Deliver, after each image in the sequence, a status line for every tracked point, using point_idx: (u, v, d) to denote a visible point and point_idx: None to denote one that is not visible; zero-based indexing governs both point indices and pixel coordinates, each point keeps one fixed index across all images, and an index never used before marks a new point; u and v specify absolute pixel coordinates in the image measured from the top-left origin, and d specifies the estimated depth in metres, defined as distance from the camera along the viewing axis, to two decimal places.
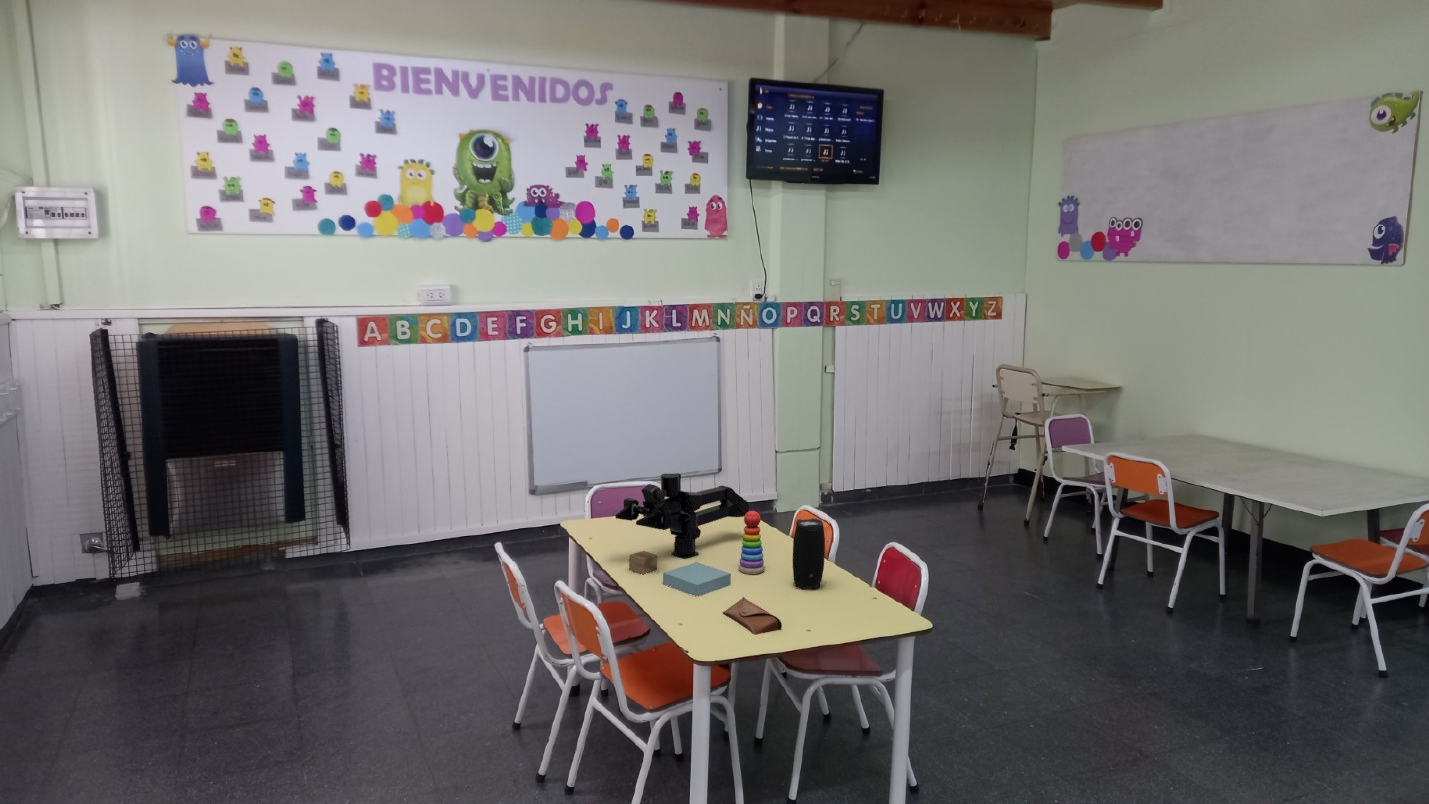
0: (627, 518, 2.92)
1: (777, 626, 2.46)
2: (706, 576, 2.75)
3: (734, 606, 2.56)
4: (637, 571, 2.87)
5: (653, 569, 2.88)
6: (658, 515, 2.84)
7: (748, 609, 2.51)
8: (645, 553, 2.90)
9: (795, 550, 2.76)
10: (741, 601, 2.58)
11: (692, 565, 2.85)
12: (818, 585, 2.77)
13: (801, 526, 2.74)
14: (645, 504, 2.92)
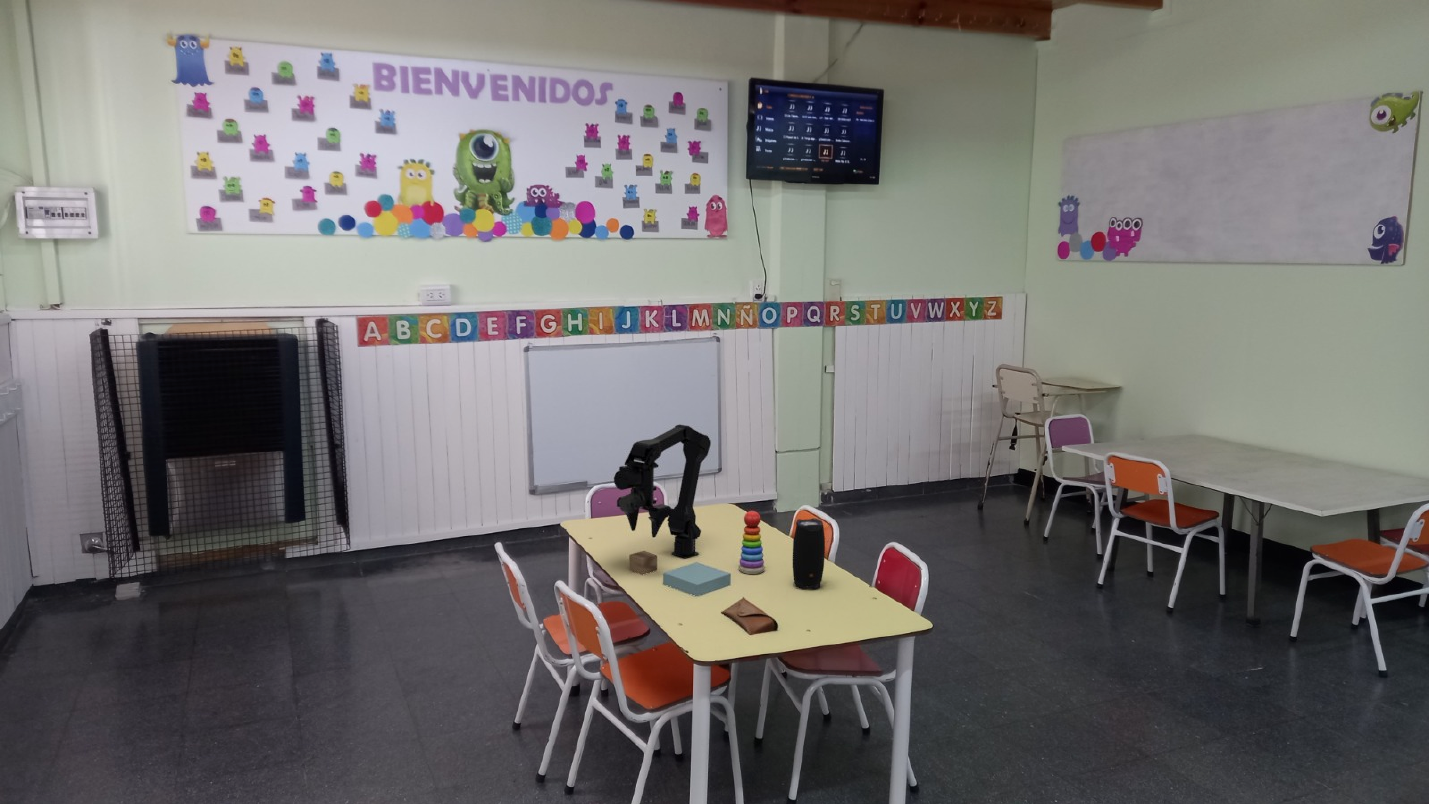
0: (636, 513, 2.91)
1: (774, 628, 2.45)
2: (706, 576, 2.75)
3: (733, 606, 2.56)
4: (637, 571, 2.87)
5: (653, 569, 2.88)
6: None
7: (746, 610, 2.51)
8: (645, 553, 2.90)
9: (795, 550, 2.76)
10: (741, 601, 2.58)
11: (692, 565, 2.85)
12: (818, 585, 2.77)
13: (801, 526, 2.74)
14: None
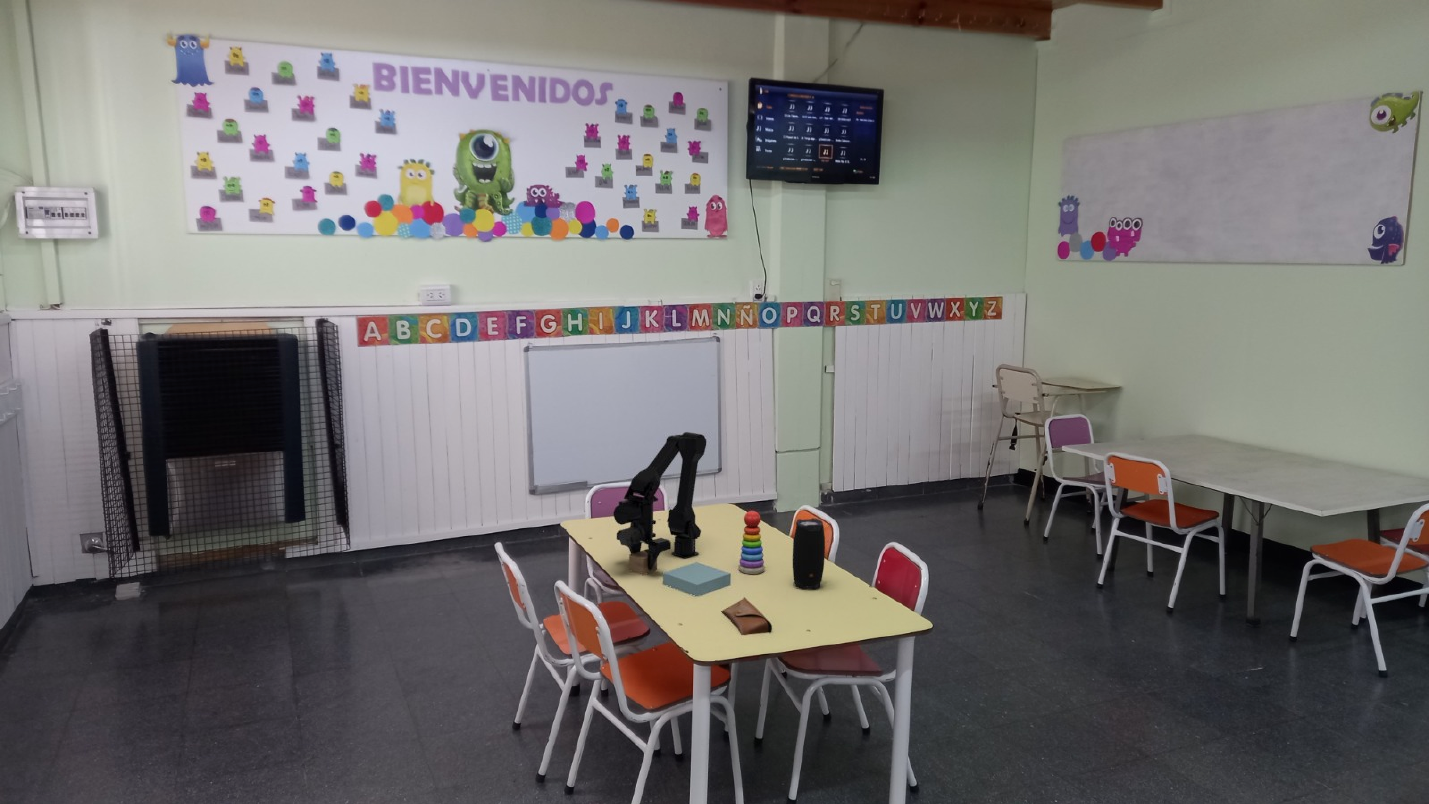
0: (639, 547, 2.92)
1: (767, 629, 2.44)
2: (706, 576, 2.75)
3: (733, 606, 2.57)
4: (637, 570, 2.87)
5: (653, 569, 2.88)
6: None
7: (743, 610, 2.51)
8: (645, 552, 2.90)
9: (795, 550, 2.76)
10: (741, 601, 2.58)
11: (692, 565, 2.85)
12: (818, 585, 2.77)
13: (801, 526, 2.74)
14: None
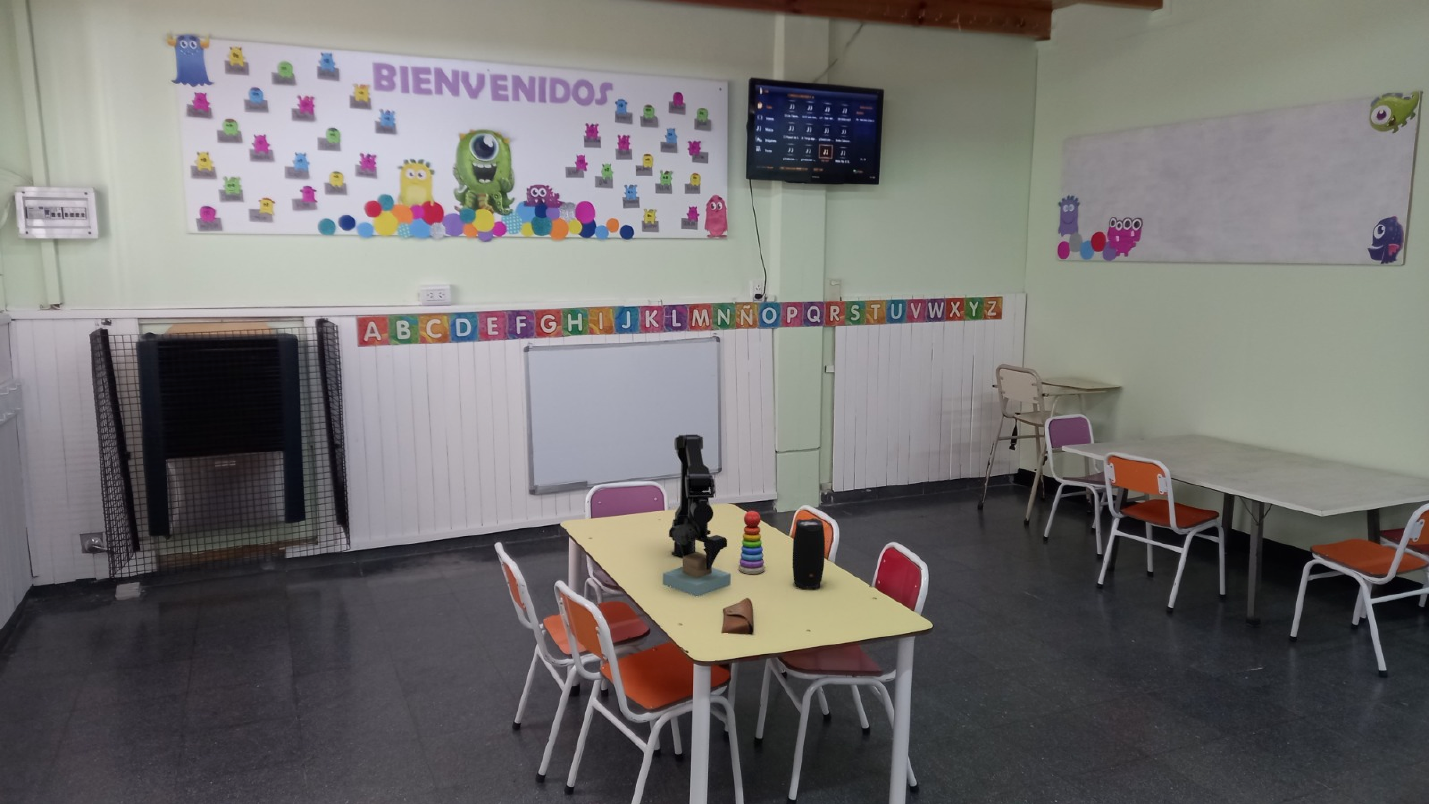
0: (689, 544, 2.81)
1: (749, 631, 2.43)
2: (706, 576, 2.75)
3: (733, 605, 2.57)
4: (692, 573, 2.75)
5: (708, 571, 2.77)
6: None
7: (735, 609, 2.51)
8: (699, 554, 2.79)
9: (795, 550, 2.76)
10: None
11: None
12: (818, 585, 2.77)
13: (801, 526, 2.74)
14: None
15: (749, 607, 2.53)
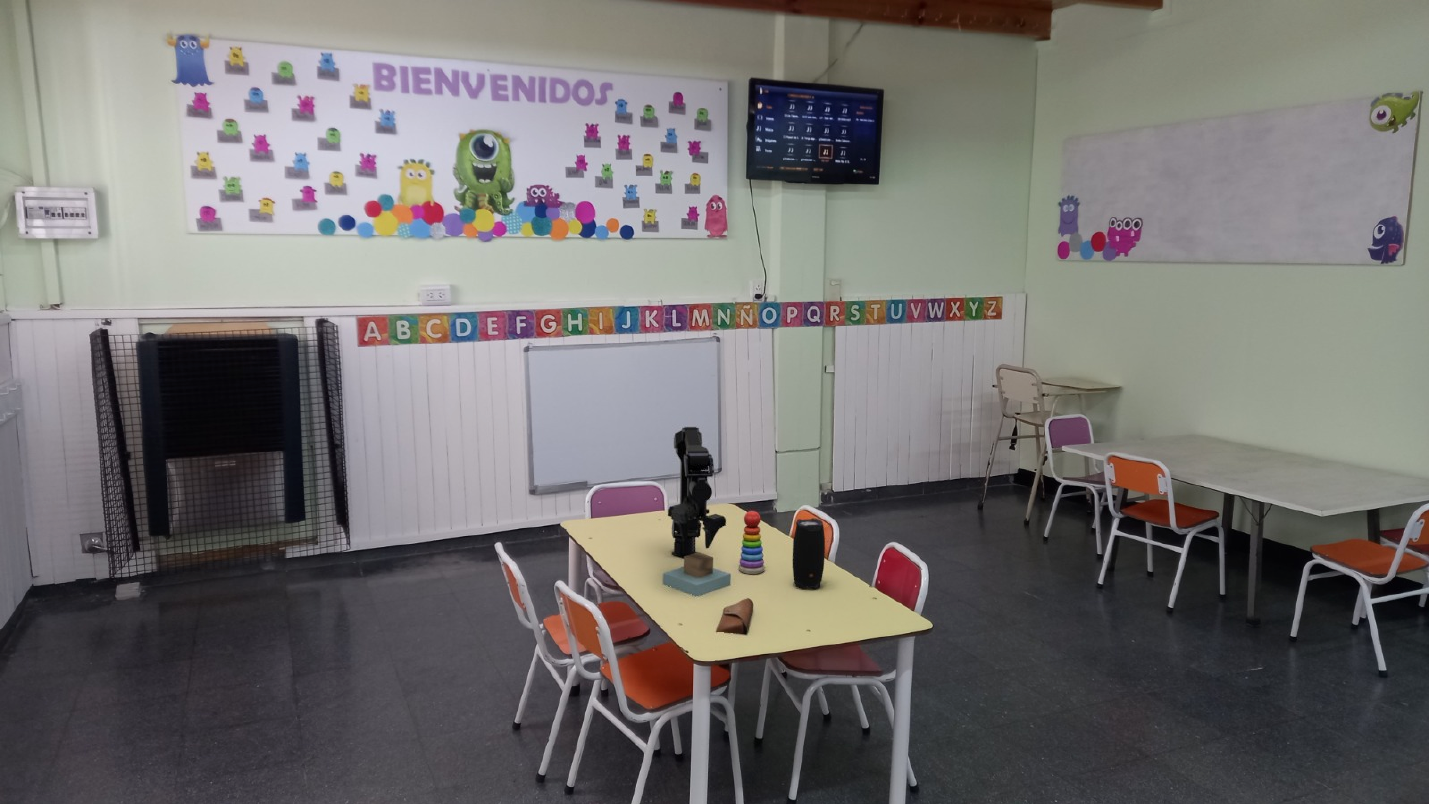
0: (688, 523, 2.81)
1: (743, 631, 2.43)
2: (706, 576, 2.75)
3: (733, 605, 2.58)
4: (693, 573, 2.75)
5: (709, 572, 2.77)
6: None
7: (733, 609, 2.51)
8: (700, 555, 2.79)
9: (795, 550, 2.76)
10: None
11: None
12: (818, 585, 2.77)
13: (801, 526, 2.74)
14: None
15: (748, 607, 2.53)
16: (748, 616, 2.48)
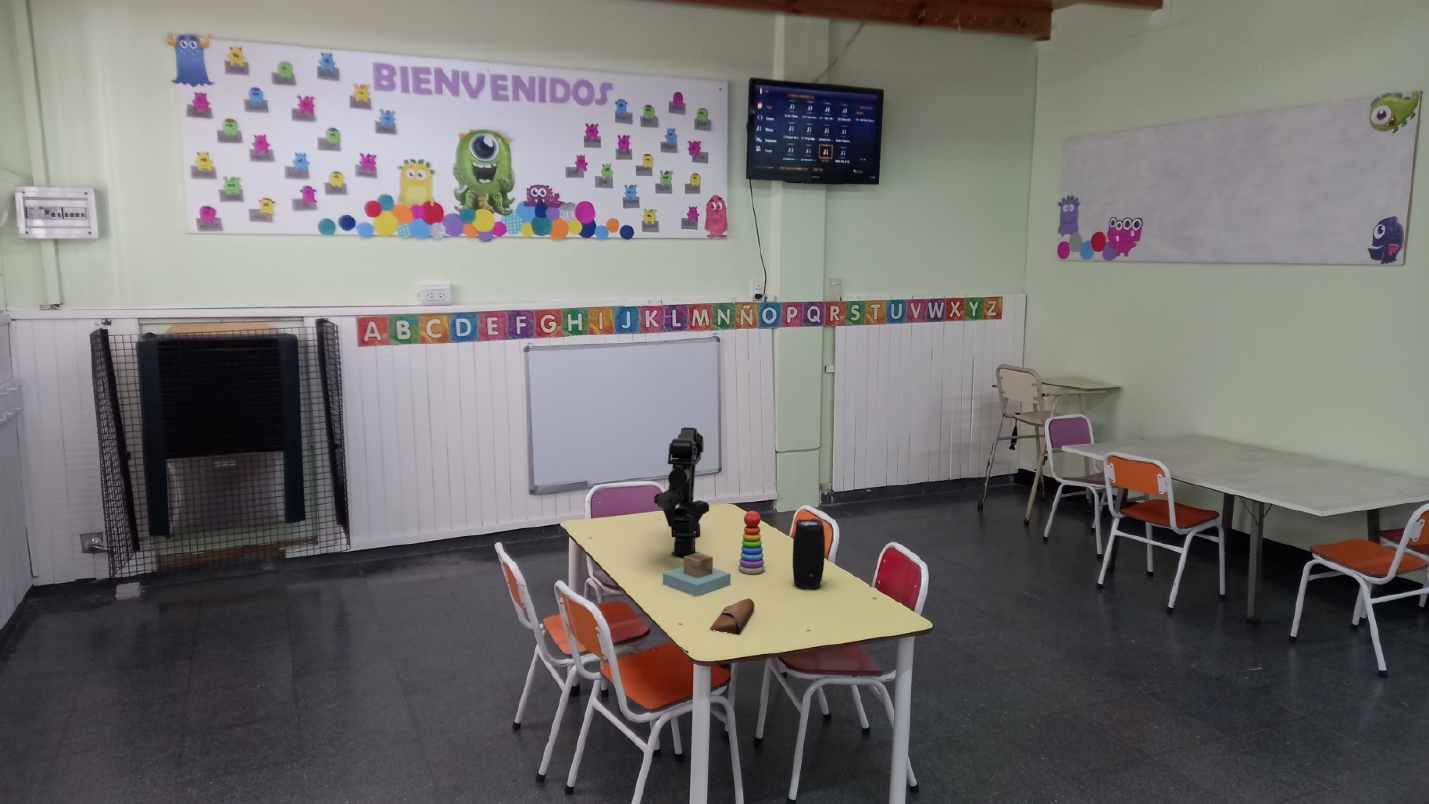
0: (673, 509, 2.94)
1: (735, 631, 2.43)
2: (706, 576, 2.75)
3: None
4: (692, 573, 2.75)
5: (708, 572, 2.76)
6: None
7: (731, 609, 2.52)
8: (700, 555, 2.78)
9: (795, 550, 2.76)
10: None
11: None
12: (818, 585, 2.77)
13: (801, 526, 2.74)
14: None
15: (746, 608, 2.53)
16: (744, 616, 2.48)
